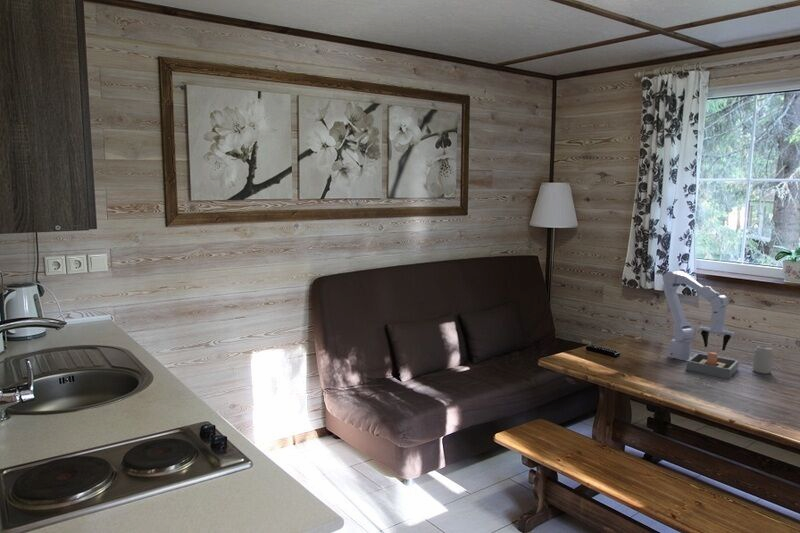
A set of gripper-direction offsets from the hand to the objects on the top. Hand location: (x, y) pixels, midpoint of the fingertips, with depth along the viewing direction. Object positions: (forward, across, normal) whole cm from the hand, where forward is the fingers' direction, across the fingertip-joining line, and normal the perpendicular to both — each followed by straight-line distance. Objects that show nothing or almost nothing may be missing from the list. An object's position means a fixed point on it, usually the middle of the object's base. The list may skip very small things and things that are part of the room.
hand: (714, 348), depth 282 cm
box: (+9, +1, -5) cm, 11 cm away
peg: (+9, +1, -7) cm, 11 cm away
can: (+10, +19, +9) cm, 23 cm away
